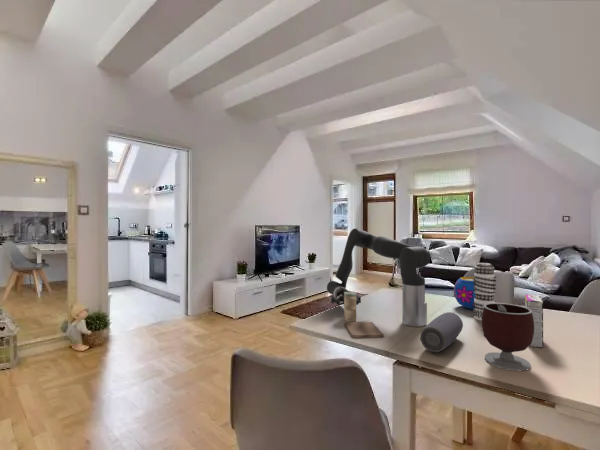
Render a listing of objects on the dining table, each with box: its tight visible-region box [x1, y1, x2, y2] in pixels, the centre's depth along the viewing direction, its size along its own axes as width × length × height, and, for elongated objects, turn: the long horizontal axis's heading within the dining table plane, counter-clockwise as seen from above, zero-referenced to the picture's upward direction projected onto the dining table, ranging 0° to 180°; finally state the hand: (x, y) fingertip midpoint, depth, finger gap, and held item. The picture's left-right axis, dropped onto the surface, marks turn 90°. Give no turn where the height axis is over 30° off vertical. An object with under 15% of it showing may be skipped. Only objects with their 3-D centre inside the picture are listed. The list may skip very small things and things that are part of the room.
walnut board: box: [343, 321, 384, 339], centre depth 133 cm, size 12×16×1 cm
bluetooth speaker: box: [419, 311, 464, 353], centre depth 117 cm, size 23×9×10 cm, turn 141°
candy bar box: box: [524, 293, 544, 349], centre depth 120 cm, size 11×5×16 cm, turn 148°
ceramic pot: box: [453, 276, 475, 310], centre depth 166 cm, size 18×18×15 cm
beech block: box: [343, 291, 357, 322], centre depth 148 cm, size 4×5×12 cm
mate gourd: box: [481, 302, 534, 371], centre depth 102 cm, size 16×14×20 cm
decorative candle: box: [473, 262, 497, 321], centre depth 149 cm, size 9×9×25 cm
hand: (348, 302), depth 152 cm, fingers open, 8 cm apart
